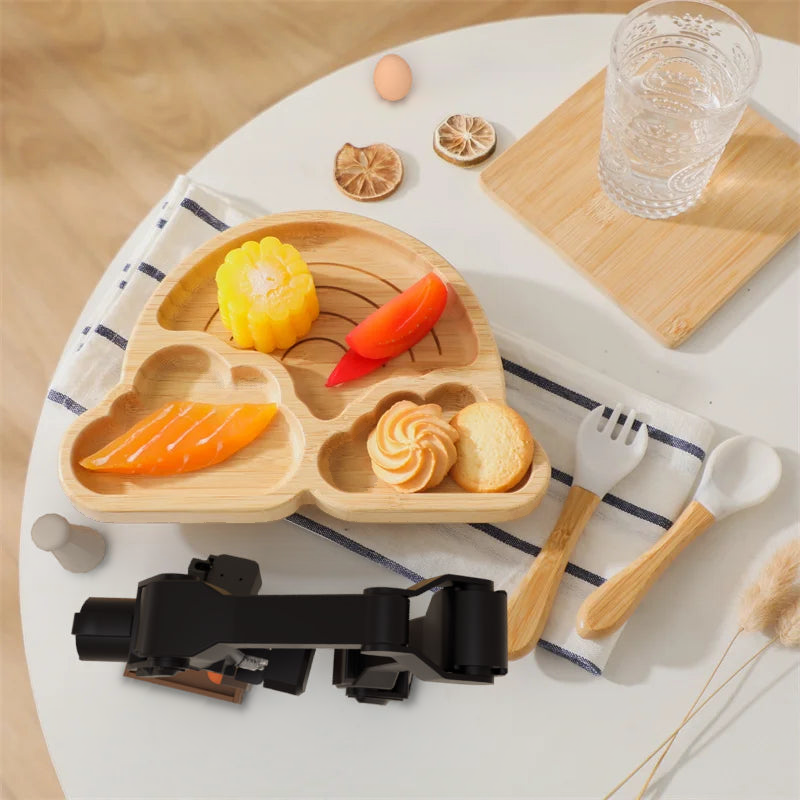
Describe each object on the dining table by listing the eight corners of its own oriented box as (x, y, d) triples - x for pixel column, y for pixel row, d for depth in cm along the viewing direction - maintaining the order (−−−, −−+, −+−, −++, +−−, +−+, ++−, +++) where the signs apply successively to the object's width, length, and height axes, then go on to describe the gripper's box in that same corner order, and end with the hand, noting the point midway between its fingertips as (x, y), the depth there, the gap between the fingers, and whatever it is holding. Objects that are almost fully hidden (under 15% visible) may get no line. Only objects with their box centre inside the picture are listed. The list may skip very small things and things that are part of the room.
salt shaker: (102, 581, 113) (61, 560, 101) (59, 572, 114) (13, 550, 102) (116, 535, 115) (78, 510, 103) (74, 527, 116) (31, 500, 104)
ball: (206, 653, 107) (225, 658, 109) (198, 679, 106) (217, 684, 108) (223, 656, 105) (241, 662, 107) (215, 683, 104) (234, 688, 106)
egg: (403, 74, 140) (401, 38, 133) (418, 101, 138) (417, 66, 131) (369, 87, 139) (365, 51, 132) (384, 115, 137) (381, 80, 130)
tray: (264, 618, 111) (261, 616, 109) (241, 704, 107) (237, 703, 105) (154, 593, 112) (149, 590, 111) (128, 677, 109) (122, 675, 107)
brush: (268, 627, 104) (254, 618, 97) (250, 691, 102) (235, 687, 95) (243, 621, 105) (228, 612, 98) (225, 685, 102) (208, 680, 95)
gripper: (320, 573, 87) (340, 599, 101) (138, 532, 89) (183, 563, 104) (289, 692, 83) (314, 701, 98) (100, 646, 86) (152, 661, 100)
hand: (240, 652), depth 100 cm, fingers closed on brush, 2 cm apart
